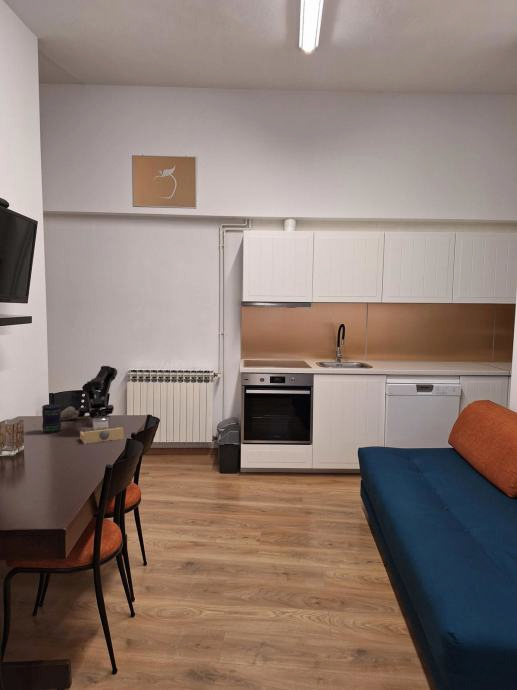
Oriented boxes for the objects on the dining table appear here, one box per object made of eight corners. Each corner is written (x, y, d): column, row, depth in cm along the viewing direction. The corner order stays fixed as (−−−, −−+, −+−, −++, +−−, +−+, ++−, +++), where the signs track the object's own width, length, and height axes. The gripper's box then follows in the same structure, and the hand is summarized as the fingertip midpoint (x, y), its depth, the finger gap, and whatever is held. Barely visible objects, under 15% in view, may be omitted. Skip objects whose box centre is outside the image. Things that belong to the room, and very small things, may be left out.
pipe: (65, 434, 298) (86, 418, 306) (62, 427, 291) (83, 411, 299) (50, 418, 304) (70, 403, 311) (46, 410, 297) (67, 395, 305)
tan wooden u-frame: (80, 438, 259) (79, 428, 259) (118, 434, 270) (118, 423, 270) (84, 444, 250) (84, 432, 250) (123, 439, 261) (123, 428, 260)
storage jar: (56, 434, 267) (56, 407, 266) (39, 434, 268) (38, 407, 266) (64, 429, 277) (64, 404, 276) (47, 429, 278) (46, 403, 276)
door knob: (84, 436, 265) (84, 416, 264) (110, 433, 272) (110, 414, 272) (89, 442, 253) (89, 422, 252) (116, 439, 260) (116, 419, 259)
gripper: (78, 393, 264) (82, 417, 256) (112, 390, 274) (118, 413, 266) (75, 404, 272) (80, 428, 263) (109, 401, 282) (114, 424, 273)
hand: (98, 423), depth 266 cm, fingers closed
